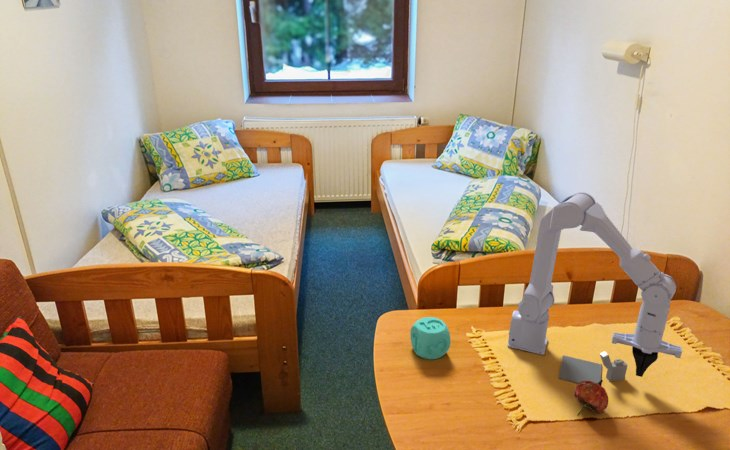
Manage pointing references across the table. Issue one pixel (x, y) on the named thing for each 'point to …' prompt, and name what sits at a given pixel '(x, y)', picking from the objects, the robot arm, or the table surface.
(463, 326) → the table surface
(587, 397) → the pomegranate
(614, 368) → the lighter
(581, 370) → the mat
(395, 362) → the table surface
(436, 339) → the decorative dice
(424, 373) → the table surface
